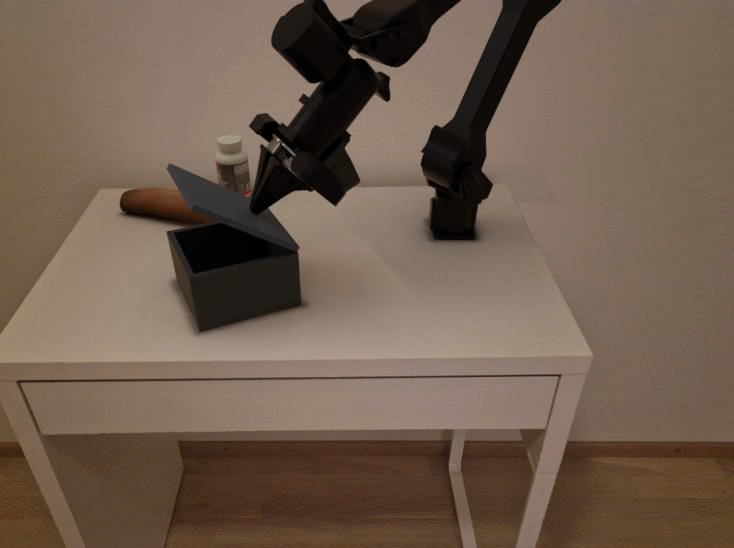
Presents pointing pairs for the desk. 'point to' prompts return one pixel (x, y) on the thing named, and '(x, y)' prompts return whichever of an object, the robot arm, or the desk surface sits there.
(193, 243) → the desk case
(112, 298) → the desk surface
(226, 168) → the pill bottle
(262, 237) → the cover
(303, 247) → the desk surface
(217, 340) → the desk surface
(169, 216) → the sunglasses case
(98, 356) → the desk surface
